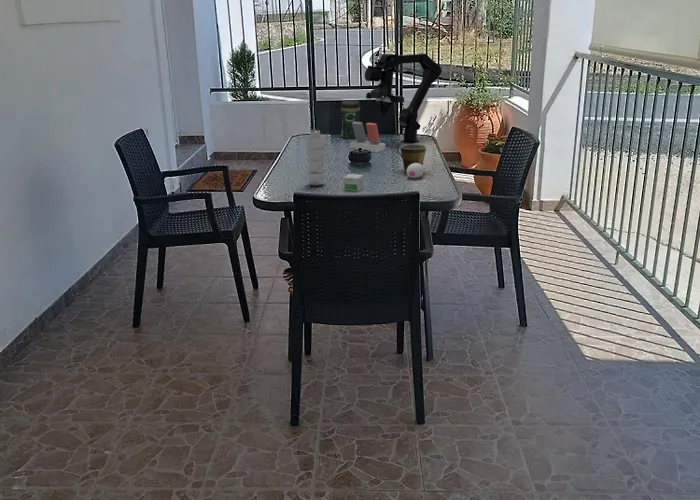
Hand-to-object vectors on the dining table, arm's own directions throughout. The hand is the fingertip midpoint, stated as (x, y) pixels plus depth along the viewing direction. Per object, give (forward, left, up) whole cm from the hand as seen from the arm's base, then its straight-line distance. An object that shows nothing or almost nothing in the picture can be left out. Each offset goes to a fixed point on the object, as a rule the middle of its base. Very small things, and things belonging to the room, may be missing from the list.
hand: (383, 116), depth 303 cm
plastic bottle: (+75, +30, -14) cm, 82 cm away
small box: (+70, +44, -14) cm, 84 cm away
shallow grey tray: (+13, +1, -14) cm, 18 cm away
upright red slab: (+13, +5, -9) cm, 17 cm away
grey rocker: (+13, -3, -9) cm, 16 cm away
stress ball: (+43, +51, -14) cm, 68 cm away
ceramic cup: (+36, +43, -14) cm, 58 cm away
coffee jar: (-4, -25, -14) cm, 29 cm away
